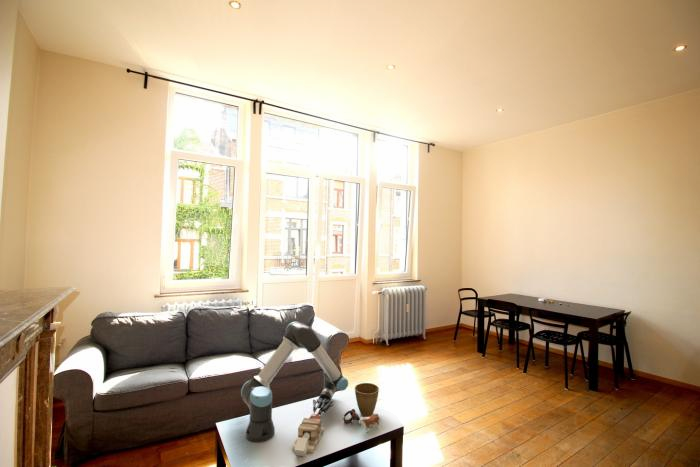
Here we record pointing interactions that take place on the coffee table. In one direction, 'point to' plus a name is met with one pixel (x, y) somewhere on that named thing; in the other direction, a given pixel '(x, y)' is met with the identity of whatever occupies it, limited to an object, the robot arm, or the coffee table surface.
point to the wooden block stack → (308, 433)
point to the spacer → (301, 446)
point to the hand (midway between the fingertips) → (315, 416)
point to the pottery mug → (353, 417)
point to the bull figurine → (369, 421)
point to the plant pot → (366, 398)
